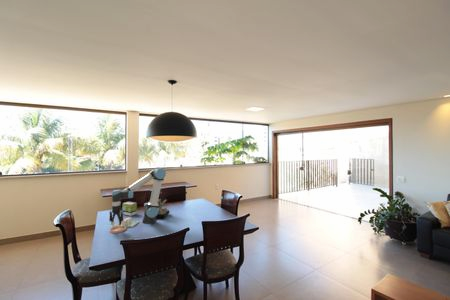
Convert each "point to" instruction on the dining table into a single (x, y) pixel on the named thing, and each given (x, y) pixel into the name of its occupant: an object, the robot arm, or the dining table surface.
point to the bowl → (116, 230)
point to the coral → (162, 210)
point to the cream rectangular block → (128, 220)
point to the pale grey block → (124, 222)
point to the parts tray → (129, 224)
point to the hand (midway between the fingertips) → (116, 228)
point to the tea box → (129, 208)
